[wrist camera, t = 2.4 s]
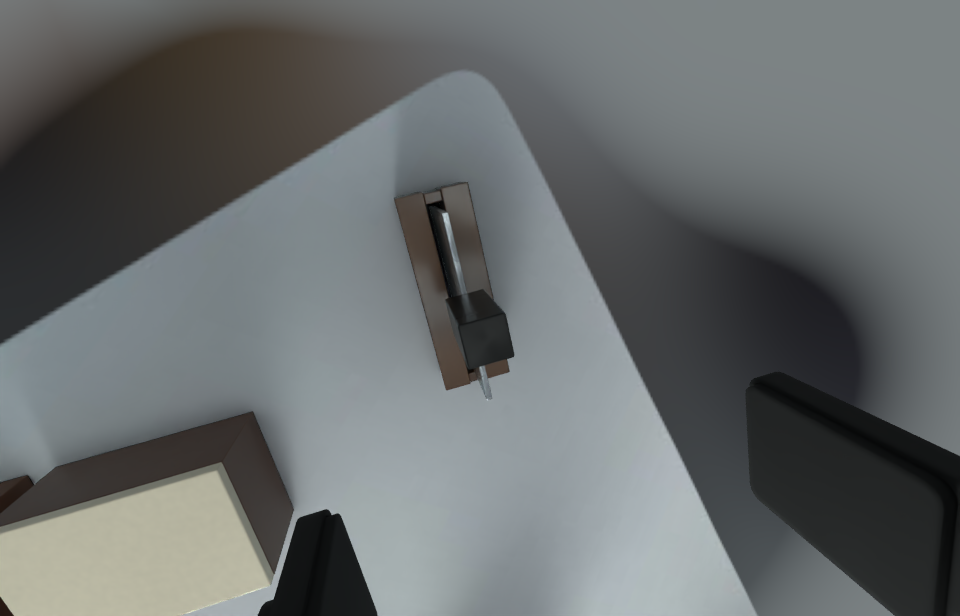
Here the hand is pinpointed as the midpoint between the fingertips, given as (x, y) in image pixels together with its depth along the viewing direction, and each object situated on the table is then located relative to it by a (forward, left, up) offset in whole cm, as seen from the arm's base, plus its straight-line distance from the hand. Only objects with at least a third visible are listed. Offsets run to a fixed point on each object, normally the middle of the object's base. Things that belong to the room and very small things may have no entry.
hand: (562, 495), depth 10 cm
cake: (+9, -20, -21) cm, 30 cm away
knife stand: (0, 0, -21) cm, 21 cm away
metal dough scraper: (0, 0, -21) cm, 21 cm away
